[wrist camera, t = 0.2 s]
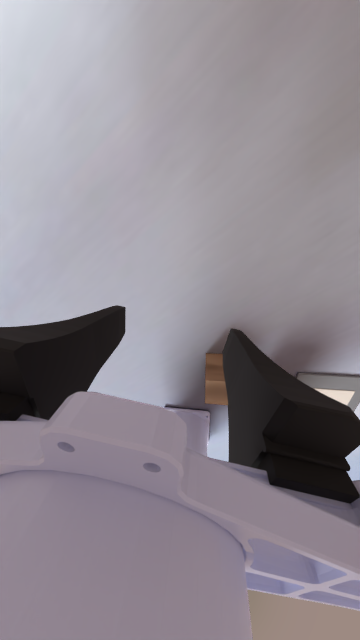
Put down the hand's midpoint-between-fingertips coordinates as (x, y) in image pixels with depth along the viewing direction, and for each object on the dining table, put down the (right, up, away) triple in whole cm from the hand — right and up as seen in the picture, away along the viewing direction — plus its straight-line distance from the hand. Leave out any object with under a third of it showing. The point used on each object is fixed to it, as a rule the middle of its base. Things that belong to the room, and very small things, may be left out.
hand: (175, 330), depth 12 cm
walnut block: (+6, -6, +14) cm, 16 cm away
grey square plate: (+21, -11, +14) cm, 28 cm away
